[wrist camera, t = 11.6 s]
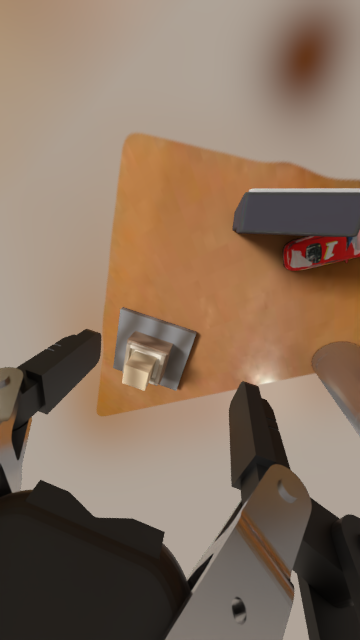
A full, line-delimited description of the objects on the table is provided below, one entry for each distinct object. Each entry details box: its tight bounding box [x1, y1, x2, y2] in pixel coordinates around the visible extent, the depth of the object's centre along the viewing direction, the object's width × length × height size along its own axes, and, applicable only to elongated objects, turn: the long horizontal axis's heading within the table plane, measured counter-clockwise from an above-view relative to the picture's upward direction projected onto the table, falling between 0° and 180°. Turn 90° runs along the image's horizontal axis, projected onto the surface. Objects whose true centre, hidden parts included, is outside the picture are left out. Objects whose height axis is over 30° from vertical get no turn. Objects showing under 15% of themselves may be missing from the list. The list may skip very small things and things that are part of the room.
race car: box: [282, 230, 360, 271], centre depth 29 cm, size 13×5×4 cm, turn 105°
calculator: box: [233, 189, 360, 237], centre depth 24 cm, size 11×4×15 cm, turn 88°
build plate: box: [113, 307, 196, 390], centre depth 44 cm, size 18×18×6 cm
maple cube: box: [122, 351, 157, 391], centre depth 39 cm, size 5×5×5 cm
